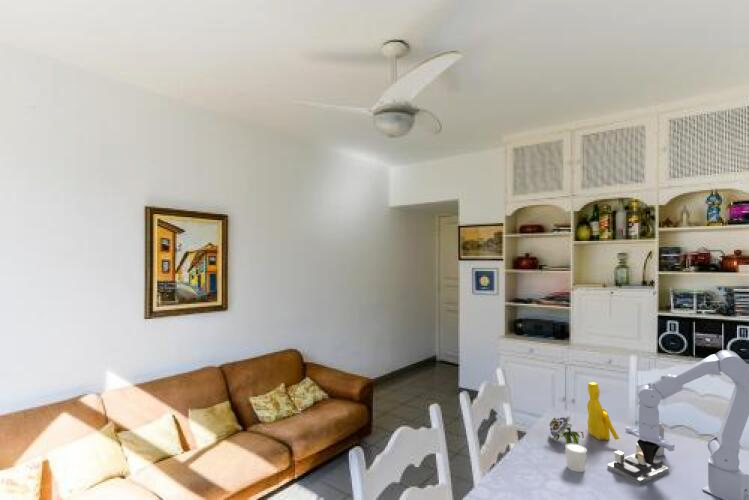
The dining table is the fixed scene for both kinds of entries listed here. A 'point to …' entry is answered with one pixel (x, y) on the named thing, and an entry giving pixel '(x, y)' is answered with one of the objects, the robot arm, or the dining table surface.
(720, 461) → the robot arm
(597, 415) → the figure statuette
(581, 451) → the white cylinder
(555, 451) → the dining table surface
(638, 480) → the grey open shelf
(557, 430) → the passion flower
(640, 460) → the handle
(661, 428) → the can
